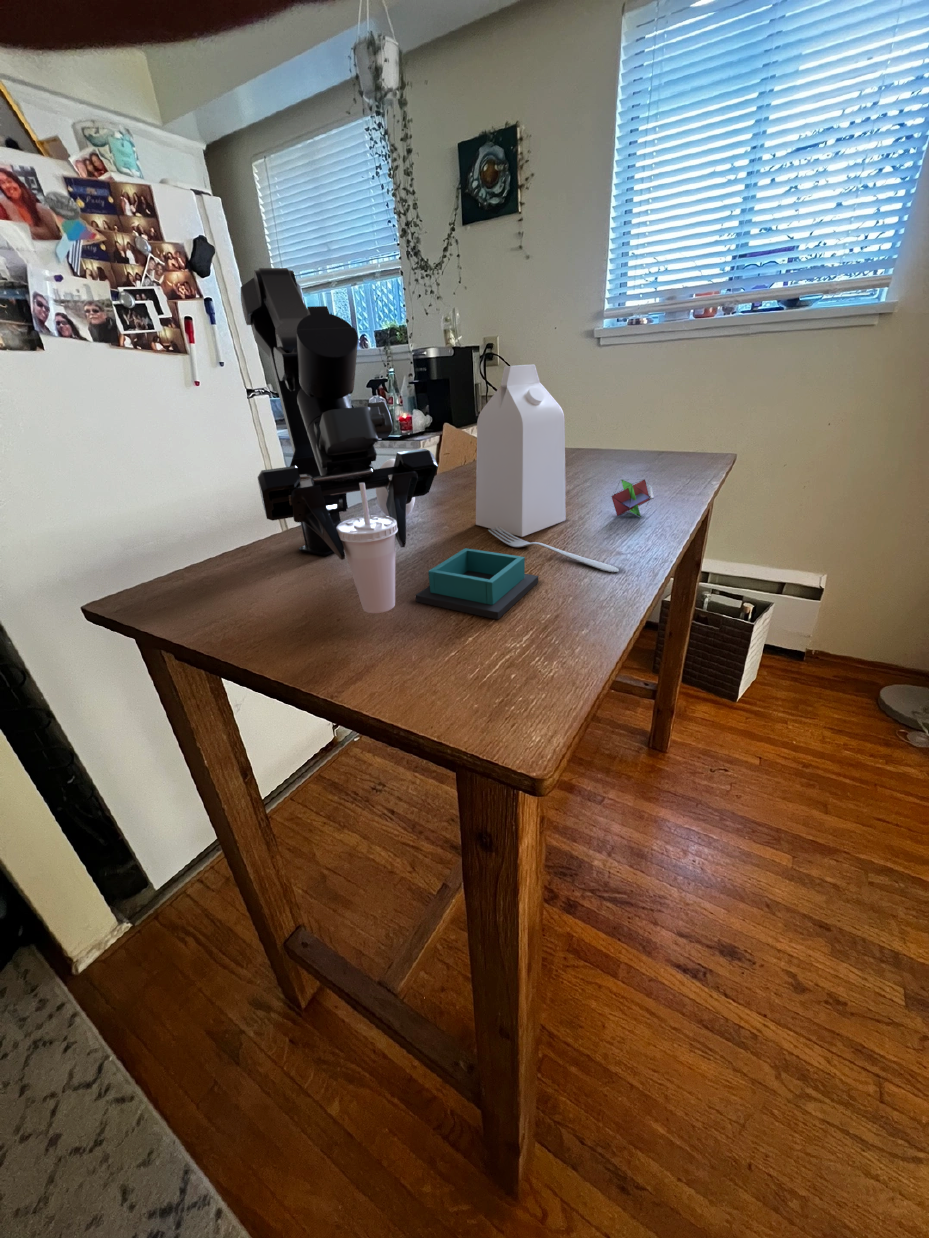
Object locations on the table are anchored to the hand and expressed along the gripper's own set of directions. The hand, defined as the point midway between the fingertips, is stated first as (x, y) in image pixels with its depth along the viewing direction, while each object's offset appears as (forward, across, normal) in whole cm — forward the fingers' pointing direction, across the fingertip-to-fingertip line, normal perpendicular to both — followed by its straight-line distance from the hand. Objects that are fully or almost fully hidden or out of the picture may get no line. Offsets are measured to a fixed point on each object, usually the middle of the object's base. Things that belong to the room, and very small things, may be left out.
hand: (373, 551), depth 53 cm
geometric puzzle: (-7, +53, +22) cm, 58 cm away
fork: (-1, +30, +16) cm, 34 cm away
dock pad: (+4, +14, +11) cm, 18 cm away
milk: (-12, +35, +28) cm, 46 cm away
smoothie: (+4, 0, +6) cm, 7 cm away
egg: (-23, +16, +38) cm, 48 cm away
